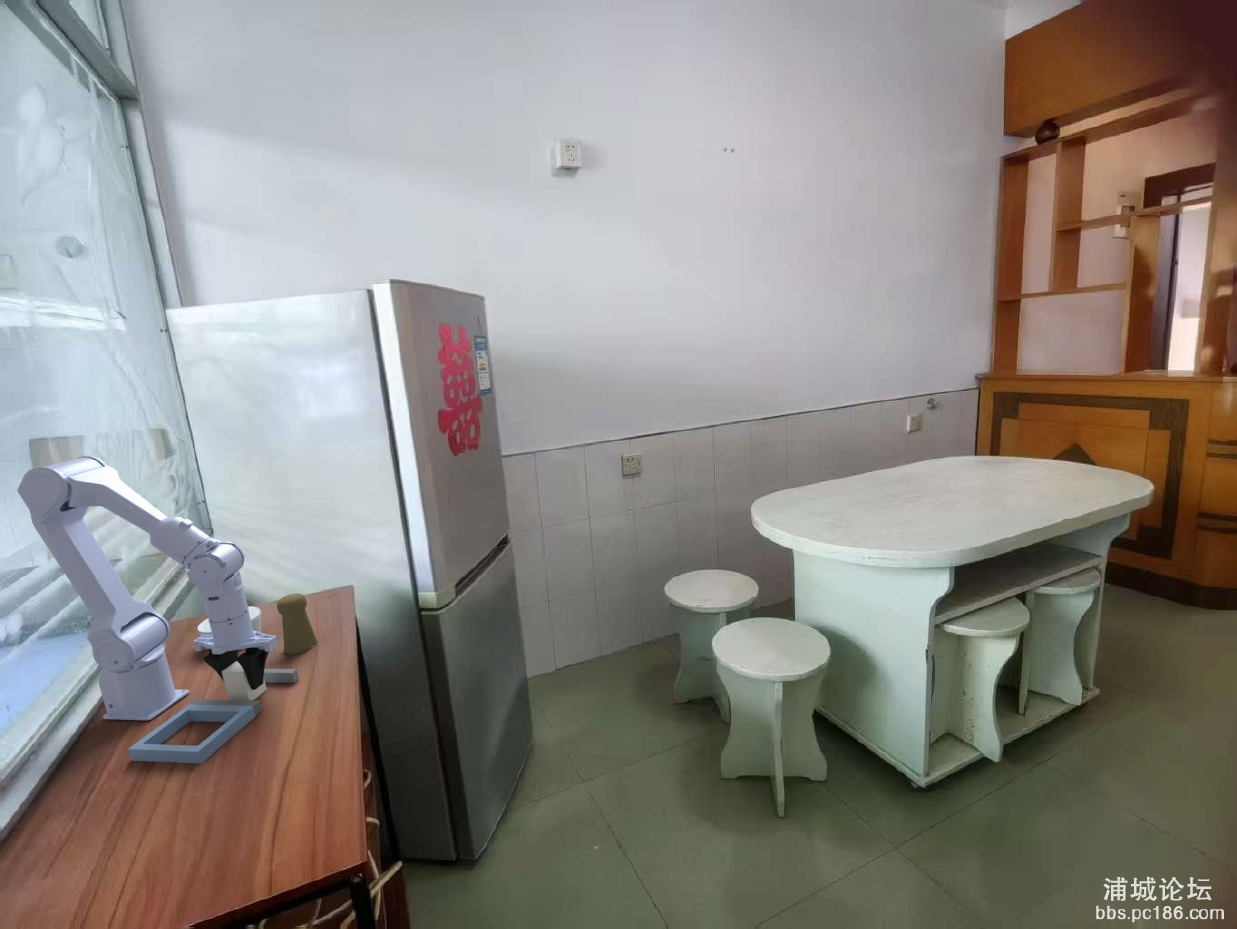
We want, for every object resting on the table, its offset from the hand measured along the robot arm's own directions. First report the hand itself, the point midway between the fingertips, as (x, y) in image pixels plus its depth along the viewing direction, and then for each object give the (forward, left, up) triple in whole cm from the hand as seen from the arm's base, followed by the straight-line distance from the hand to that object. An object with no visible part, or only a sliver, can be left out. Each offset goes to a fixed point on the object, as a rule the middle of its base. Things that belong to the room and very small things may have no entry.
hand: (246, 686), depth 102 cm
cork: (-2, +16, -2) cm, 17 cm away
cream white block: (0, 0, -2) cm, 2 cm away
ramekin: (-19, +18, -2) cm, 27 cm away
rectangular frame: (0, -6, -2) cm, 6 cm away
